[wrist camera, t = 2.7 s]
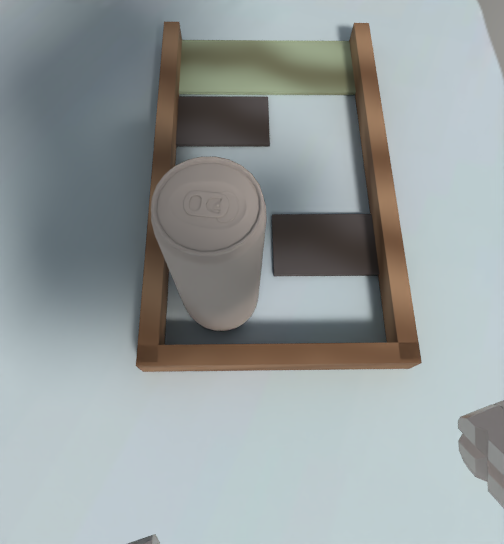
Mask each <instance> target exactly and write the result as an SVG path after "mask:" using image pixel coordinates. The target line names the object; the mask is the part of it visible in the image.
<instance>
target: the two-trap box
mask: <svg viewBox="0 0 504 544" xmlns="http://www.w3.org/2000/svg"><path fill="white" fill-rule="evenodd" d="M179 94H220V95H355V99H356V107H357V114H358V122H359V130H360V138H361V146H362V153H363V161H364V169H365V177H366V184H367V192H368V200H369V208H370V214H272V234H273V262H274V276H369V275H378V278H379V286H380V293H381V301H382V309H383V317H384V324H385V332H386V340H387V343H300V344H200V345H165V330H166V313H167V296H168V279H169V268H168V266H167V263H166V261H165V258H164V256H163V254H162V251H161V249H160V246H159V244H158V241H157V239H156V237H155V234H154V230H153V226H152V222H151V202H152V196H153V193H154V190H155V188H156V185H157V184H158V183H159V181H160V180H161V178H162V177H163V176H164V174H166V173H167V172H168V171H169V170H171V169H172V168H173V167H174V166H175V161H176V146H270V139H269V111H268V97H179ZM420 363H422V362H421V356H420V350H419V343H418V337H417V330H416V324H415V317H414V311H413V304H412V298H411V292H410V285H409V279H408V272H407V266H406V259H405V253H404V246H403V240H402V234H401V227H400V221H399V214H398V208H397V201H396V195H395V189H394V182H393V176H392V169H391V163H390V156H389V150H388V143H387V137H386V131H385V124H384V118H383V111H382V105H381V98H380V92H379V86H378V79H377V73H376V66H375V60H374V53H373V47H372V40H371V34H370V28H369V23H354V25H353V29H352V33H351V36H350V40H349V41H246V40H182V37H181V30H180V23H179V22H164V30H163V42H162V54H161V66H160V79H159V91H158V103H157V115H156V127H155V140H154V152H153V164H152V176H151V188H150V201H149V213H148V225H147V237H146V249H145V261H144V274H143V286H142V298H141V310H140V322H139V335H138V347H137V359H136V366H137V367H138V368H139V369H140V370H142V371H143V372H155V371H243V370H330V369H410V368H412V367H414V366H416V365H418V364H420Z"/></svg>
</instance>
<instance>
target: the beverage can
mask: <svg viewBox="0 0 504 544" xmlns="http://www.w3.org/2000/svg"><path fill="white" fill-rule="evenodd" d="M151 222H152V226H153V230H154V234H155V237H156V239H157V241H158V244H159V246H160V249H161V251H162V254H163V256H164V258H165V261H166V263H167V266H168V268H169V271H170V273H171V275H172V278H173V280H174V283H175V285H176V287H177V290H178V292H179V294H180V297H181V299H182V301H183V304H184V306H185V308H186V310H187V311H188V313H189V315H190V316H191V317H192V318H193V319H194V320H195V321H196V322H197V323H199V324H200V325H202V326H204V327H205V328H208V329H211V330H214V331H228V330H231V329H235V328H237V327H239V326H240V325H242V324H244V323H245V322H246V321H247V320H248V319H249V318H250V317H251V315H252V314H253V312H254V310H255V308H256V305H257V301H258V295H259V286H260V276H261V266H262V257H263V247H264V238H265V228H266V204H265V201H264V197H263V194H262V191H261V188H260V185H259V183H258V182H257V181H256V179H255V178H254V176H253V175H252V174H251V173H250V172H249V171H248V170H246V169H245V168H244V167H243V166H242V165H239V164H237V163H235V162H233V161H231V160H229V159H224V158H220V157H198V158H194V159H189V160H186V161H184V162H182V163H180V164H178V165H176V166H174V167H173V168H172V169H171V170H169V171H168V172H167V173H166V174H164V176H163V177H162V178H161V180H160V181H159V183H158V184H157V185H156V188H155V190H154V193H153V196H152V202H151Z"/></svg>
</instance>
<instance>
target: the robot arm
mask: <svg viewBox="0 0 504 544" xmlns="http://www.w3.org/2000/svg"><path fill="white" fill-rule="evenodd" d="M458 429H459V430H460V431H461V432H462V433H463V434H462V435H461V437H460V439H459V441H458V444H459V452H460V454H461V457H462V459H463V461H464V463H465V464H466V466H467V467H468V469H469V470H470V471H471V472H472V474H473V475H474V476H475V477H477V478H479V479H482V480H484V481H487V486H488V492H489V493H490V494H491V495H492V496H493V497H494V498H495V499H496V500H497V501H498V503H499V504H500V505H501V506H502V507H503V508H504V400H503V401H500V402H498V403H495V404H493V405H489V406H486V407H484V408H481V409H479V410H476V411H474V412H471V413H469V414H466V415H464V416H461V417H460V418H459V420H458ZM128 544H160V542H159V540H158V538H157V536H156V534H154V535H151V536H148V537H145V538H142V539H139V540H136V541H134V542H131V543H128Z"/></svg>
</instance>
